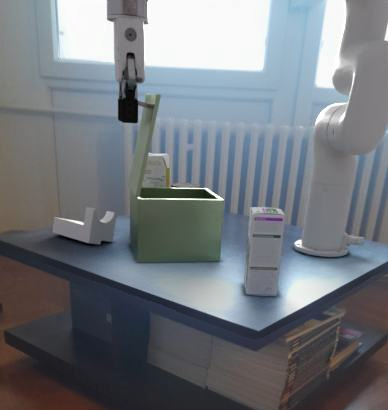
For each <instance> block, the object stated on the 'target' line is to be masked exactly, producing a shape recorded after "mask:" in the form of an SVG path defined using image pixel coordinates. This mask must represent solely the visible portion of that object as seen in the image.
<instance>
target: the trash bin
mask: <svg viewBox="0 0 388 410" xmlns="http://www.w3.org/2000/svg"><path fill="white" fill-rule="evenodd" d="M224 210H225V199H223V198H222V197H220V196H219V195H217V194H216V193H215V192H213V191H212V190H210V189H209V188H207V187H201V188H171V187H170V188H159V187H141V192H140V197H137V196H135V195H134V193H133V191H132V190H131V188H130V187H129V244H130V247H131V250H132V252H133V255H134V257H135V259H136V263H138V264H139V263H195V262H197V263H200V262H207V263H208V262H220V261H221V252H222V237H223V222H224Z"/></svg>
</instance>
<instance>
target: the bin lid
mask: <svg viewBox="0 0 388 410" xmlns="http://www.w3.org/2000/svg"><path fill="white" fill-rule="evenodd" d="M161 98H162V95H161V94H159V93H146V94H145V98H144V102H143V101H142V100H141V101H140V100H138V107H142V113H141V117H140V122H139V128H138V133H137V138H136V143H135V147H134V152H133V154H134V157H133V162H132V161H131V162H132V167H131V166H130V172H129V177H128V183H127V186H128V187H129V189H130V188H131V190H132V191H133V193H134V195H135V196H137V197H140V192H141V187H142V183H143V178H144V173H145V169H146V164H147V159H148V154H149V153H150V149H151V144H152V140H153V135H154V131H155V126H156V121H157V115H158V112H159V111H158V110H159V106H160V101H161Z"/></svg>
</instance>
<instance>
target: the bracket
mask: <svg viewBox="0 0 388 410" xmlns="http://www.w3.org/2000/svg"><path fill="white" fill-rule="evenodd" d="M117 217H118V212H114V211H109V210H106V212H105V215H104V216H103V218H101V219H100V218H99V215H98V208H93V207H89V206H86V207H85V213H84V217H83V221H80V220H73V219H68V218H62V217H55V216H54V217H53V225H52V232H51V233H52V234H56V235H60V236H63V237H67V238H70V239H73V240H77V241H79V242H83V243H87V244H92V245H101V243H102V242H109V243H113V240H114V235H115V229H116V223H117Z"/></svg>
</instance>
